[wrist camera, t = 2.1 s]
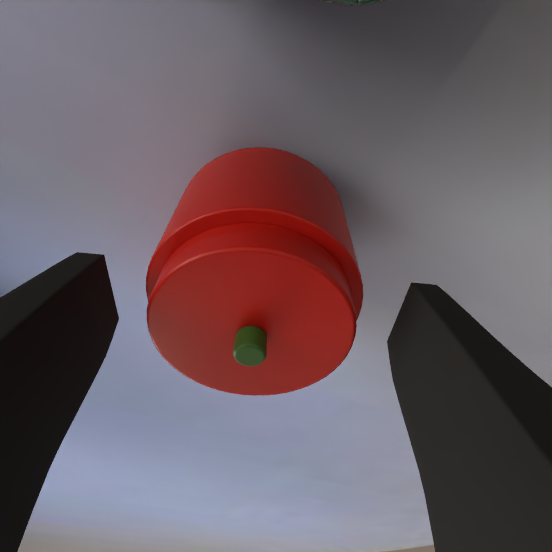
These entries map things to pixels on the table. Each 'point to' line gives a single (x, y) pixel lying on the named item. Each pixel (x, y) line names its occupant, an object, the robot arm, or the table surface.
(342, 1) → the green round bowl
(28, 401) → the robot arm
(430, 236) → the table surface
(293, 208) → the pepper
